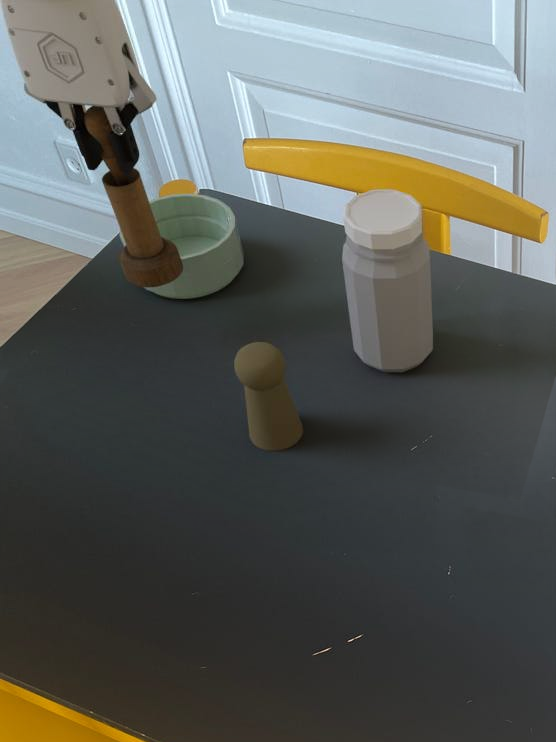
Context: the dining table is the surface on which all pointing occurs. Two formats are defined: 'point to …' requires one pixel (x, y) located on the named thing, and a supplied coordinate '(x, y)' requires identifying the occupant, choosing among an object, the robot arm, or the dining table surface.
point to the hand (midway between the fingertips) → (113, 163)
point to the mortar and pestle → (134, 215)
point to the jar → (388, 280)
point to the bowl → (198, 243)
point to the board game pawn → (267, 397)
